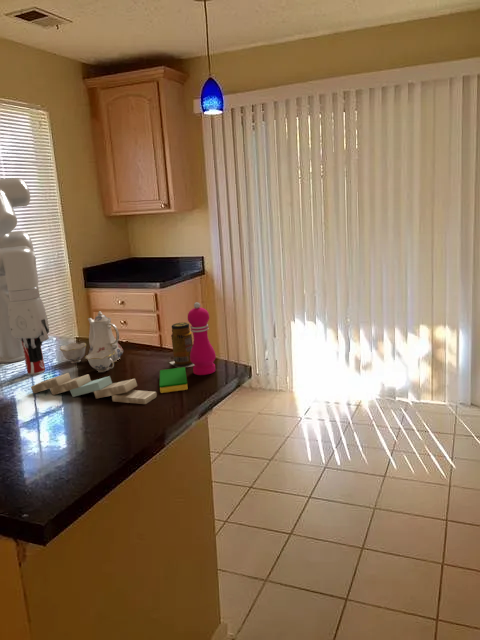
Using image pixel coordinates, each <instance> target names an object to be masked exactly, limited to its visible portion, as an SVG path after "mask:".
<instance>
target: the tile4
mask: <svg viewBox="0 0 480 640" xmlns="http://www.w3.org/2000/svg"><path fill="white" fill-rule="evenodd" d="M136 387H138V383H137V380H136V378H132V379H131V378H130V379H126V380H121V381H118V382H112V384H110V385H108V386H106V387H104V388H102V389H101V390H97V391H93V392H92V393H93V394H94V397H95V399H100V398H101V399H102V398H106V397H110V396H111V397H112V396H113V395H116V394H121V393H126V392H128V391H130V390H134V388H136Z"/></svg>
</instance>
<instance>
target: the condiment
mask: <svg viewBox="0 0 480 640" xmlns="http://www.w3.org/2000/svg"><path fill="white" fill-rule="evenodd" d="M170 335H171V336H170V337H171V345H172V354H173V361H170V362H168V363H169V364H170V365H172V366H173V367H175V368H181V367H185V368H190V367H193V366H194V364H193V363H192V362H191V360H190V353H191V349H192V346H193V342H194V341H193V333H192V331H191V327H190V323H189V322H177V323H173V324H172V325H171V334H170Z"/></svg>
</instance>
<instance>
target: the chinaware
mask: <svg viewBox="0 0 480 640" xmlns="http://www.w3.org/2000/svg"><path fill="white" fill-rule="evenodd" d="M87 321H88V322H89V332H88V333H89V334H88V343H89V347H90V348H89V350H88V354H87V355H86V356H85V353H86V347H87V343H86V342H81V343H77V342H71V343H69V344H67V345H61V346H60V347H59V351H60V352H61V353H62V355H63V357H64V358H65V359H67V360H68V361H70V362H69V363H71V364H75V363H76V364H77V363H80V362H81V359H82V358H83V357H84V359H85V360H86V359H87V360H88V363H89V365H90V367H91V368H93V369H94V370H96V371H98V372H97V373H105V372H106V371H109V370H110V369H113V368H114V367H115V363H117V362H118V361H117V360H119V359H120V360H121V356H122V355H123V353H124V349H123V348H122V346H121V345H120V344H119V340H120V332H119V329H118V327H117V326H116V324H114V323H112V322H111V321H112V317H107V316H106V315H105V314H103V312H102V311H98V313H97V315H96V316H95V318H94V319H93V318H92V317H89V318H87ZM112 328H113V329H114V332H115V336H116V337H115V336H114V333H113V331H112ZM120 360H119V361H120Z"/></svg>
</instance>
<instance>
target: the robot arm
mask: <svg viewBox="0 0 480 640" xmlns="http://www.w3.org/2000/svg"><path fill="white" fill-rule="evenodd" d="M30 202H31V192H30V189H29V186H28V184H27V183H26V182H25V180H24V179H22V178H20V177H19V178H18V177H15V178H13V177H11V178H0V364H5V363H7V364H8V363H16V362H20V361H25V357H24V351H23V346H22V342H23V343H24V344H25V347H26V348H27V349H28V354H29V360H30V362H34V363H35V362H38V361H40V360H42V359H43V360H44V356H43V357H42V354H43V350H42V351H41V349H42V346H43V343H44V342H46V341H49V339H50V338H49V335H48V334H49V333H50V326H49V325H50V324H49V320H48V316H47V315H48V314H47V313H46V308H45V306H44V302H43V300H42V298H41V295H40V289H39V276H38V269H37V258H36V254H35V250H34V246H33V242H32V238H31V236H30V235H29V234H28V233H27V232H26V231H23V230H17V231H15V228H16V227H17V224H18V218H17V215H16V212H15V210H14V208H19V207H22V208H23V207H27V206H29V204H30Z"/></svg>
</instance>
